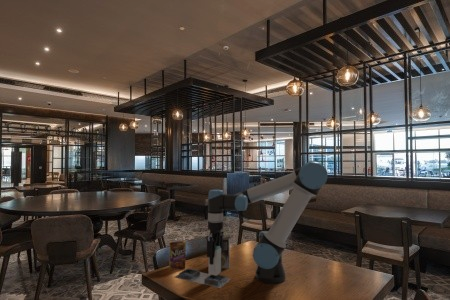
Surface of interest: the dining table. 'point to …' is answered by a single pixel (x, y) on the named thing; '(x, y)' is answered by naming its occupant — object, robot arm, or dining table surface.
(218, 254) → the white rectangular bottle
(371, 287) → the dining table surface
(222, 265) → the coffee box
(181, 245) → the candy box
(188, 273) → the panel
